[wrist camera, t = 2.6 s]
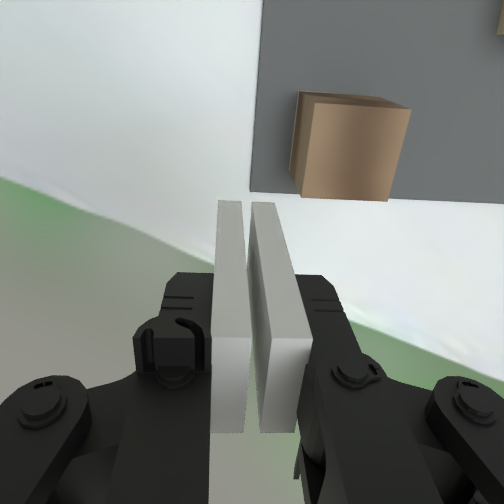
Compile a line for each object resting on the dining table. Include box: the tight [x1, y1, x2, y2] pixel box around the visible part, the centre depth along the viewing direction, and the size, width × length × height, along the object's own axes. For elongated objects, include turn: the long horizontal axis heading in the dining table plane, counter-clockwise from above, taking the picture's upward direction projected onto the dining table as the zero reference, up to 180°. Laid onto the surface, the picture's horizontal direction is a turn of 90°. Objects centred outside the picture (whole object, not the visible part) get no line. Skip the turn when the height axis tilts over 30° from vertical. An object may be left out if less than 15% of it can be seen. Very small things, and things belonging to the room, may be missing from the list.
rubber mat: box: [250, 0, 504, 204], centre depth 28 cm, size 24×20×1 cm
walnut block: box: [289, 91, 412, 202], centre depth 27 cm, size 6×6×6 cm
